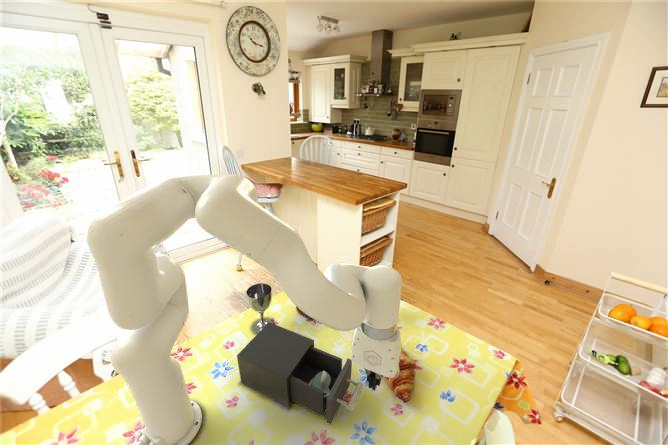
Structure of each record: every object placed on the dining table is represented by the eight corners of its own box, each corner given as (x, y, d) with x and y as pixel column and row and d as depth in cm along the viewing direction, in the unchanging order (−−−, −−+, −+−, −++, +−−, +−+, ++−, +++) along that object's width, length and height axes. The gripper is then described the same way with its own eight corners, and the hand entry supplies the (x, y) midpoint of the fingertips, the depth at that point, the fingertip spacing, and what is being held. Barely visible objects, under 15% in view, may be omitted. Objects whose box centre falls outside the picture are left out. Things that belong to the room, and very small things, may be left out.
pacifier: (306, 403, 73) (330, 403, 73) (305, 386, 71) (329, 386, 71) (309, 377, 80) (330, 377, 80) (308, 360, 77) (330, 360, 77)
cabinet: (314, 366, 85) (314, 340, 81) (288, 408, 74) (286, 379, 70) (271, 347, 91) (268, 321, 87) (241, 383, 80) (236, 355, 76)
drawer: (365, 389, 78) (367, 366, 74) (347, 433, 68) (348, 409, 64) (305, 362, 85) (304, 340, 82) (280, 399, 75) (278, 375, 71)
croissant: (379, 351, 95) (369, 334, 92) (407, 339, 93) (398, 322, 90) (394, 416, 75) (382, 398, 72) (431, 402, 74) (420, 383, 71)
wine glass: (246, 330, 98) (240, 294, 92) (261, 315, 104) (257, 280, 98) (265, 338, 95) (261, 301, 89) (279, 322, 101) (276, 287, 95)
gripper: (338, 323, 59) (337, 384, 67) (411, 349, 53) (401, 413, 61) (352, 301, 66) (350, 360, 73) (419, 322, 60) (409, 383, 67)
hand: (373, 384), depth 67 cm, fingers closed
